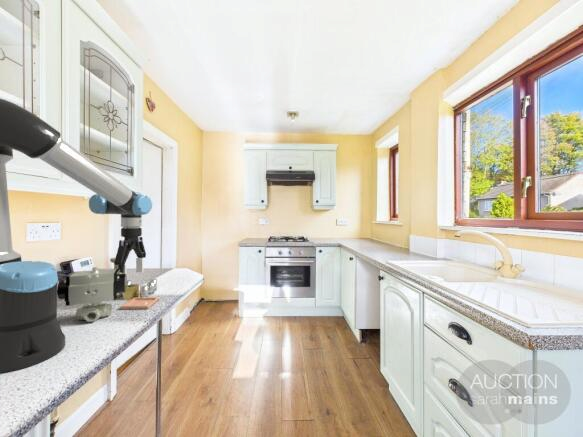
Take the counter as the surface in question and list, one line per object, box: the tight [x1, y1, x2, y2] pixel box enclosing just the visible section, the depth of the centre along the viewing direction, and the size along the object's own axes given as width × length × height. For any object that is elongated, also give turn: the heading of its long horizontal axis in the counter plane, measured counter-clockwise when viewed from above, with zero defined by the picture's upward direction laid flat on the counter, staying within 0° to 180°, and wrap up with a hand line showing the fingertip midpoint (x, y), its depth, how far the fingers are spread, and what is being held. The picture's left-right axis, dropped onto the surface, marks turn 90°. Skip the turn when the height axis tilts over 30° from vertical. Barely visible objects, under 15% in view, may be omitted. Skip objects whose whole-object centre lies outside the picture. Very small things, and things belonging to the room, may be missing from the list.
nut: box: [122, 283, 140, 300], centre depth 108 cm, size 6×6×5 cm
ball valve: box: [57, 266, 128, 323], centre depth 85 cm, size 18×8×18 cm, turn 118°
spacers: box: [118, 278, 158, 298], centre depth 111 cm, size 15×15×5 cm
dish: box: [119, 296, 160, 310], centre depth 99 cm, size 10×10×1 cm
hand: (131, 276), depth 107 cm, fingers open, 13 cm apart
